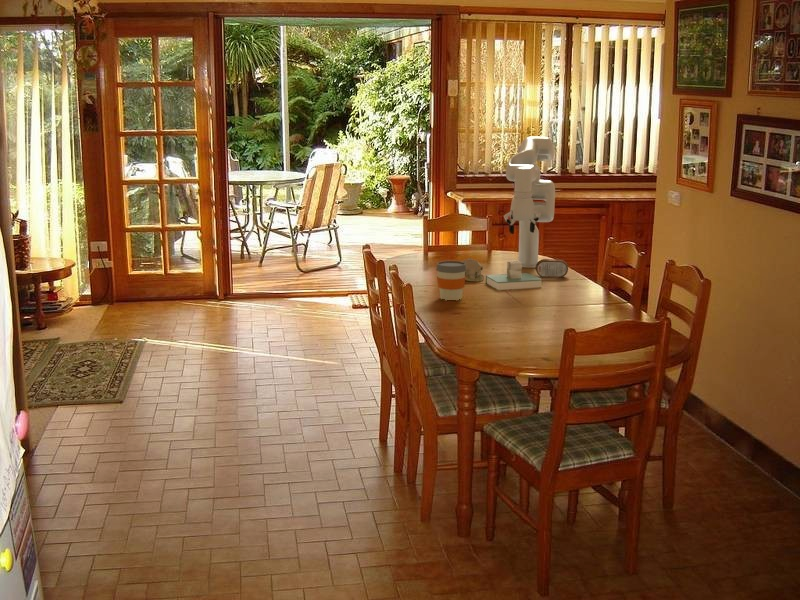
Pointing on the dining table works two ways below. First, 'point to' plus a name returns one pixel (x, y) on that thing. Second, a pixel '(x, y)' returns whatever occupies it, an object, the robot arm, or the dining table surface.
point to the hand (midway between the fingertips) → (521, 232)
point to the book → (513, 282)
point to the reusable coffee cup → (451, 279)
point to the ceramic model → (473, 270)
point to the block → (514, 269)
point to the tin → (551, 268)
